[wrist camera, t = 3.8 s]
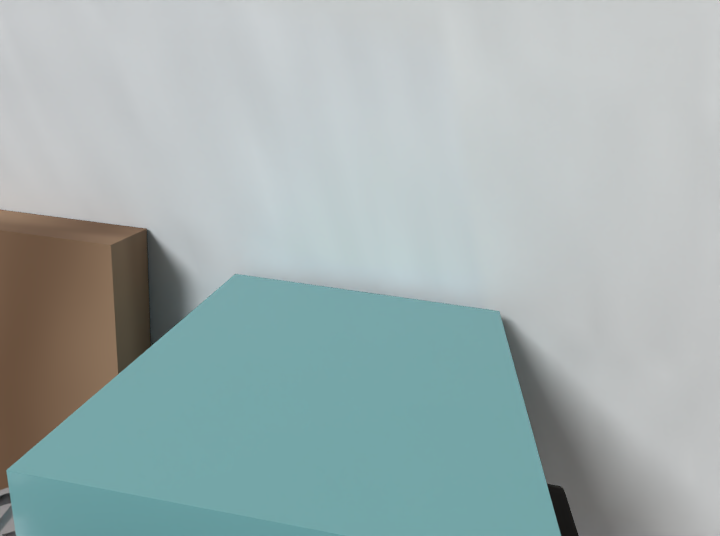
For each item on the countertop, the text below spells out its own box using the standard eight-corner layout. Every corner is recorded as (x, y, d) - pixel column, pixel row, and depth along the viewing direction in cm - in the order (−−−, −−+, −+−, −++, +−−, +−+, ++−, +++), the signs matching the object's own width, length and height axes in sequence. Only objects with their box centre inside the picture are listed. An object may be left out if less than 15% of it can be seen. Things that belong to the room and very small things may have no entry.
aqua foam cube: (498, 311, 12) (572, 578, 5) (457, 527, 14) (472, 919, 7) (235, 274, 12) (6, 470, 6) (231, 485, 14) (56, 807, 8)
